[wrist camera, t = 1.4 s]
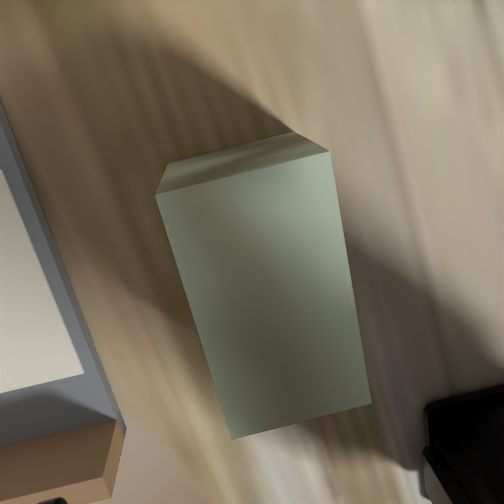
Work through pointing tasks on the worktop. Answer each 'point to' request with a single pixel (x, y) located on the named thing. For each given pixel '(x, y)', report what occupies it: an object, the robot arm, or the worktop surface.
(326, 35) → the worktop surface
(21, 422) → the arena
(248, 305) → the sage block
